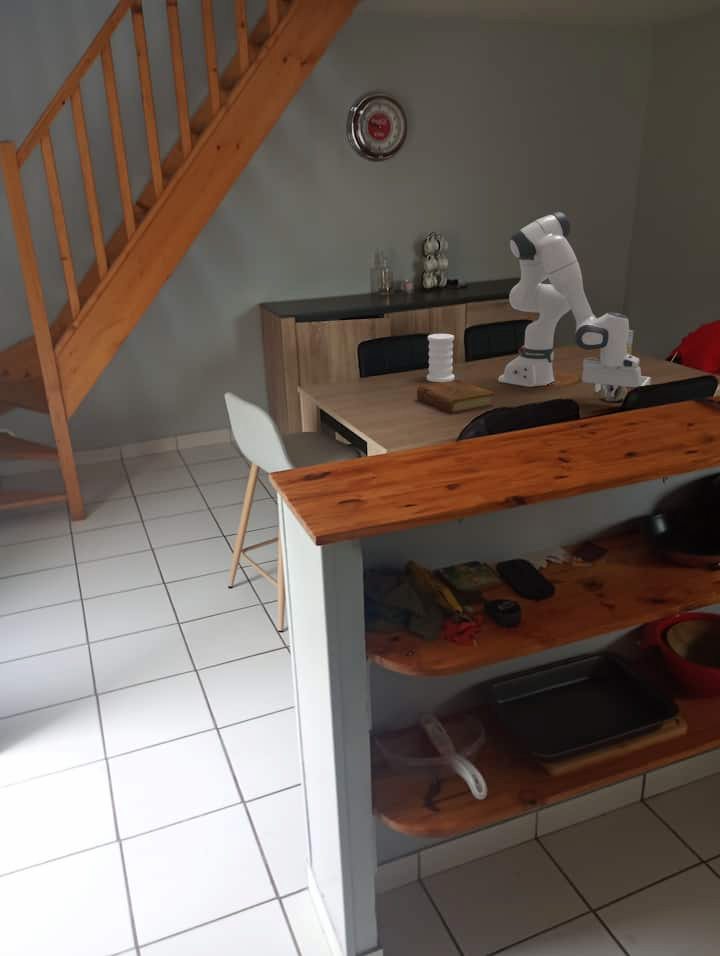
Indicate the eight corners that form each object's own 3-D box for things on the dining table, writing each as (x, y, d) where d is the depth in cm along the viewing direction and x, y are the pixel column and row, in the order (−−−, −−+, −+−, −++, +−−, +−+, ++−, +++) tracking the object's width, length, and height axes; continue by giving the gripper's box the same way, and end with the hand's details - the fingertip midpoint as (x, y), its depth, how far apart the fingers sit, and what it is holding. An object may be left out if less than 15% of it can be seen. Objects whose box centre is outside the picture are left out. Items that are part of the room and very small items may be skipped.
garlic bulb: (599, 404, 279) (593, 379, 278) (618, 398, 281) (612, 372, 280) (615, 403, 270) (608, 377, 269) (634, 396, 272) (627, 370, 271)
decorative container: (440, 383, 306) (440, 340, 299) (421, 378, 314) (421, 336, 307) (460, 378, 312) (460, 335, 306) (440, 374, 321) (440, 332, 314)
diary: (417, 401, 285) (416, 386, 283) (457, 394, 293) (457, 379, 291) (451, 415, 266) (451, 399, 264) (493, 407, 274) (493, 391, 272)
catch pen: (594, 392, 286) (595, 380, 285) (603, 383, 297) (604, 372, 296) (642, 397, 278) (643, 385, 276) (649, 388, 289) (651, 377, 287)
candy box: (608, 362, 331) (611, 328, 325) (615, 361, 333) (618, 326, 327) (623, 366, 324) (627, 331, 318) (630, 364, 325) (634, 329, 320)
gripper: (581, 358, 266) (578, 395, 272) (640, 363, 257) (636, 401, 262) (585, 354, 271) (582, 391, 277) (644, 359, 262) (639, 397, 267)
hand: (609, 396), depth 269 cm, fingers closed
